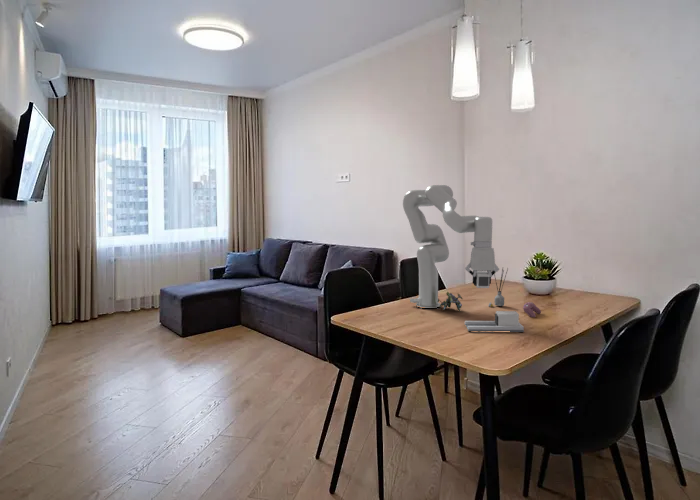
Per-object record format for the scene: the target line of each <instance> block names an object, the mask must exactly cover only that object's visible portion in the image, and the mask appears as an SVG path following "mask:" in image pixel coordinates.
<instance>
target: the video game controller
mask: <svg viewBox="0 0 700 500" xmlns="http://www.w3.org/2000/svg"><path fill="white" fill-rule="evenodd" d="M522 309H523V312H524V313H526V314H527V315H528V316H529V317H530V318H533V317H534V318H536V316H537V315H536V314H539V315H540V314H541V313H542V310H541V308H540V307H538V306H537V305H536V304H535V303H533V301H532V302H531V301H528V302H526V303H524V305H523V307H522Z"/></svg>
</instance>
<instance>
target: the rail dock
mask: <svg viewBox="0 0 700 500" xmlns="http://www.w3.org/2000/svg"><path fill="white" fill-rule="evenodd" d="M519 319H520V315H519V313H518V311H515V310H513V311H512V310H510V311H509V310H506V311H505V310H496V311H495V313H494V320H464V326H465V325H466V327H467V329H468V331H510V332H525V330H524V329H525V327H524V325H522V324H521V323H520V321H519ZM466 327H465V328H466ZM467 329H466V330H467ZM468 331H467V332H468Z"/></svg>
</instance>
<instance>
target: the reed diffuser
mask: <svg viewBox="0 0 700 500" xmlns="http://www.w3.org/2000/svg"><path fill="white" fill-rule="evenodd" d="M508 270H509V268H507V269H506V272H505V276H504V271H505V270H504V268H502V269H501V277H500V283H499V287H498V283H497V282H495V284H496V289H497V294H496V295H495V297H494V301H493V302H494V304H492V302H491V301H490V302H489V304H488V305H487V306H488V307H491V308H493V307H494V306H497V307H502V306H505V297H504V296H503V295H502V290H503V287H504V283H505V280H506V277H507V274H508ZM493 276H494V279H495V281H497V279H496V273H495V274H494V275H493ZM503 277H504V278H503ZM502 281H503V282H502Z"/></svg>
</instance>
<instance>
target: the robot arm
mask: <svg viewBox="0 0 700 500" xmlns="http://www.w3.org/2000/svg"><path fill="white" fill-rule="evenodd" d="M457 205H458V202H457V200H456V199H455V197H454V192H453V189H452V188H451V187H450V185H446V184H443V185H442V184H433V185H429V186H428V187H427V188H426V189H414V190H408V192H405V194H404V196H403V200H402V207H403V211H404V214H405V215H406V217H407V219H408V223H409V227H410V229H411V232H412V235H413V236H412V237H413V239H414V241H415V242H416V243H418V244H424V245H421V246H419V248H418V249H417V251H416V259H417V264H418V265H417V266H418V296H417V297H416V298H409V302H410V303H412V304H413V303H415V306H416V305H417V306H420V307H425V308H437V307H439V306H440V305H441V303H440V302H438V299H439V271H438V267H437V266H436V263H444V262H445V261H447V260H448V258H449V255H450V250H449V246H448V244H447V241H446V238H445V235H444V232H443V230H442V228H441V227H440V226H439V225H438V224H434V223H431V224H430V223H428V221H427V219H426V215H425V214H424V212H423V211H422V210H421V209H420V208H419V207H433V206H434V207H435V208H437V210H439V211H440V212H441V213H442V217H443V221H444V223H445V225H447V226H448V227H449V228H450V229H451V230H452V231H454V232H456V233H459V234H464V233H466V234H467V233H473V241H471V242H470V246H473V247H472V248H471V252H470V253H471V254H470V261H469V263H468V264H467V265H466V267H465V268H464V270H465V271H467V272H468V273H469V274H470V275H471V276H472V284H473V285H474V286H475V287H476V285H477V277H476V274H477V271H486V272H487V273H488V274H490V277H489V287H490V284H492V277H493V276H494V274H495V275H496V273H497V272H499V271H500V268H499V266H498V265H497V264H496V259H495V256H496V255H495V250H494V247H493V245H492V242H493V219H492V217H491V216H477V215H462V216H461V215H460V214H459V213H457V211H455V210H456V208H457ZM429 243H430V244H429ZM437 309H438V308H437Z"/></svg>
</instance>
